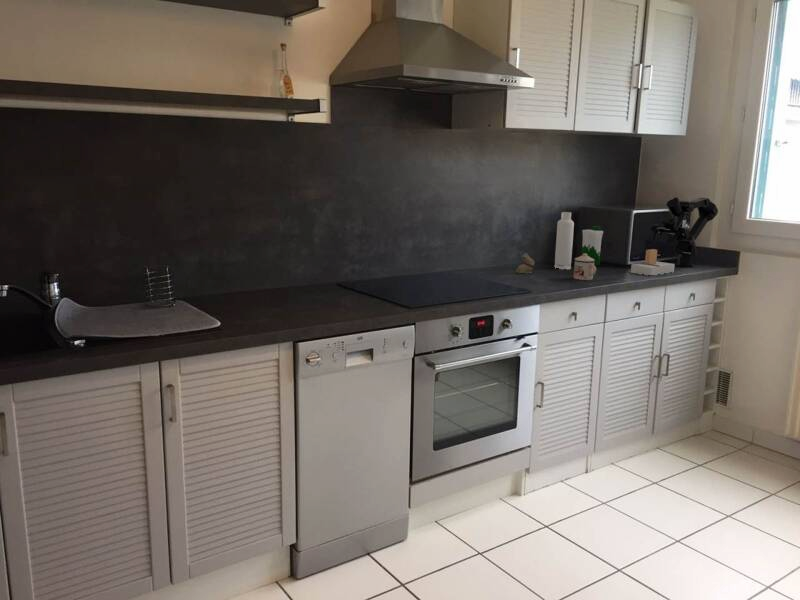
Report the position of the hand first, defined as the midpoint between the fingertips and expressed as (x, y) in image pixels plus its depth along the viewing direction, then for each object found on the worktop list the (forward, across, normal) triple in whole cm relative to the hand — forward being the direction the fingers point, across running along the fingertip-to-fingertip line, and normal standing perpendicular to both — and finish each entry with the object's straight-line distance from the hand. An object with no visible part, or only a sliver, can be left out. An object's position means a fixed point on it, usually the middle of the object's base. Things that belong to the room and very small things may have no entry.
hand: (661, 244), depth 323 cm
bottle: (+35, -31, -16) cm, 50 cm away
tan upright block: (+15, 0, +4) cm, 15 cm away
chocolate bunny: (+55, -31, -36) cm, 73 cm away
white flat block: (+15, +1, +4) cm, 16 cm away
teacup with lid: (+46, -5, -27) cm, 54 cm away
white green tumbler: (+20, -30, -1) cm, 36 cm away
